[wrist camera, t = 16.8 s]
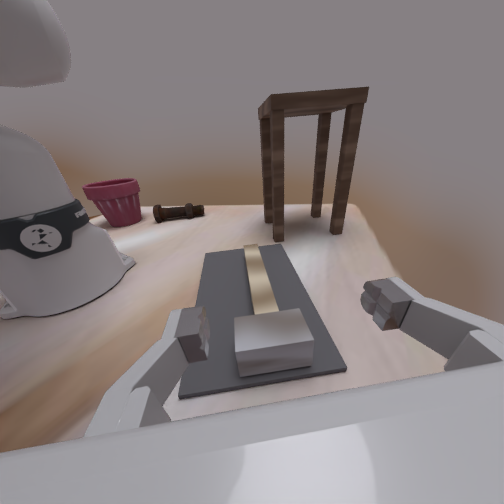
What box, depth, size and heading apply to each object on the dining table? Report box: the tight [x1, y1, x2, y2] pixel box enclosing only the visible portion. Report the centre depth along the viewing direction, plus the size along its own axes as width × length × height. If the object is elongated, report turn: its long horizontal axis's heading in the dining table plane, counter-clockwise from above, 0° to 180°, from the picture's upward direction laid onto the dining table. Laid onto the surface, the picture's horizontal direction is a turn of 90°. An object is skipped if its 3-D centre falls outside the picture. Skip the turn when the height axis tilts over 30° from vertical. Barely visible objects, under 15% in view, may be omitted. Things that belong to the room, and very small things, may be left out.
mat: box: [178, 244, 347, 399], centre depth 29 cm, size 26×16×1 cm, turn 7°
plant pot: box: [82, 178, 142, 227], centre depth 61 cm, size 14×14×13 cm
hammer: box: [234, 244, 314, 377], centre depth 27 cm, size 22×7×4 cm, turn 6°
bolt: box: [153, 203, 204, 223], centre depth 62 cm, size 6×5×15 cm
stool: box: [258, 87, 369, 242], centre depth 43 cm, size 14×16×26 cm
